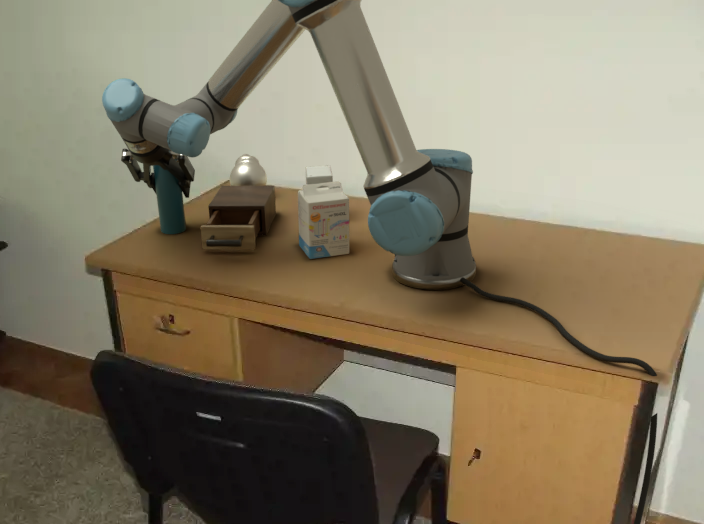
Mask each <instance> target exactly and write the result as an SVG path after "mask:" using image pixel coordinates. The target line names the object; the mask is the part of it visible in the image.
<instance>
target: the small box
mask: <svg viewBox="0 0 704 524" xmlns="http://www.w3.org/2000/svg"><path fill="white" fill-rule="evenodd" d="M333 178H334V176H333V172H332V167H331V165H329V164H328V165H327V164H326V165H312V166H305V185H307V184H319V183H328V182H334V181H333ZM325 187H326V186H320V187H318V188H325Z"/></svg>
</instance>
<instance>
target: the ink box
mask: <svg viewBox="0 0 704 524" xmlns="http://www.w3.org/2000/svg"><path fill="white" fill-rule="evenodd" d="M320 186H326V187H325V188H318V187H320ZM297 213H298V214H297V217H298V246H299V247H300V249H301V250H302V251H303V253H305V256H307V258H308V259H310V260H314V259H315V260H316V259H322V258H329V257H336V256H344V255H348V254H350V197H349V196H347V194H346V193H345V192H344V190H343V186H342V182H341V181H339V180H338V181H333V182H328V183H319V184H307V185H306V184H304V185H302V189H298V191H297Z"/></svg>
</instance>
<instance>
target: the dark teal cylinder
mask: <svg viewBox="0 0 704 524" xmlns="http://www.w3.org/2000/svg"><path fill="white" fill-rule="evenodd" d="M172 158H173V159H174V160H176V159H175V157H172ZM178 163H179V162H178ZM152 169H153V173H154V179H155V187H156V193H155V195H156V204H157V211H158V219H159V226H160V233H162V234H165V235H176V234H177V235H178V234H180V233H183V232H185V231H186V230H187V225H186V214H185V204H184V196H183V195H184V194H183V192H182V190H181V188H180V186H179V184H178V182H179V180H178V179H177V178H176V177H175V176H173V175H172V174H171V173H170V172H169V171H168V170H164V169H163V168H162V167H160V166H159V165H154V166H152Z"/></svg>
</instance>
